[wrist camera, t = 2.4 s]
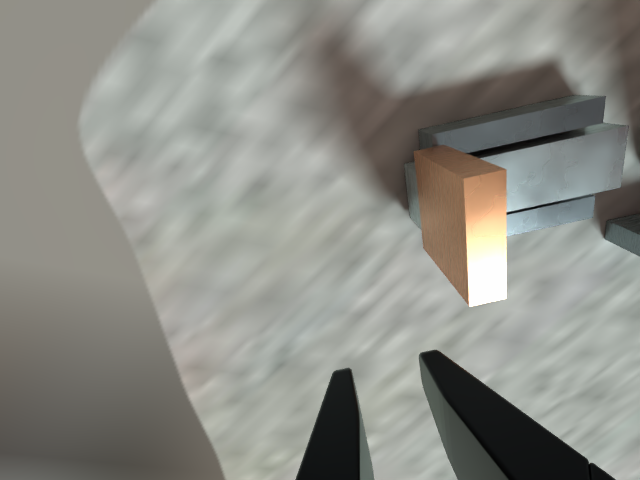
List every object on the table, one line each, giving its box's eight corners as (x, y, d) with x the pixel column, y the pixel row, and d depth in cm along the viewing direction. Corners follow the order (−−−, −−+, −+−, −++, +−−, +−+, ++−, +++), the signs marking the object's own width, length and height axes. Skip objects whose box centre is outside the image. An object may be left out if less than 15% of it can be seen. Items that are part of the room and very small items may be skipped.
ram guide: (574, 95, 18) (605, 96, 16) (566, 205, 21) (592, 217, 19) (418, 129, 18) (432, 134, 17) (428, 235, 21) (441, 250, 19)
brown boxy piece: (597, 101, 18) (775, 110, 11) (588, 195, 20) (735, 250, 13) (401, 144, 18) (463, 178, 12) (411, 233, 20) (469, 306, 14)
